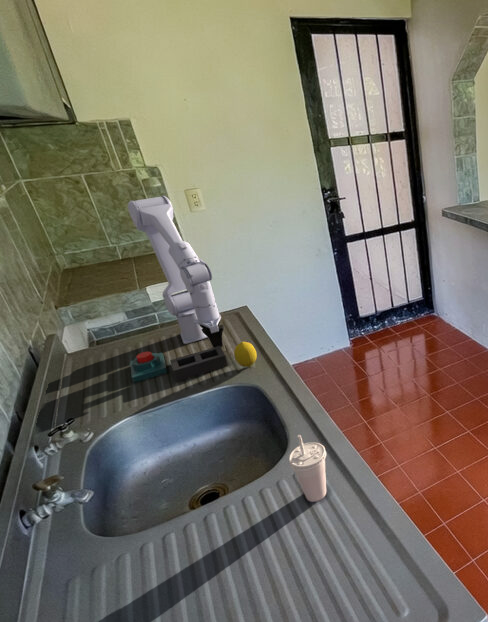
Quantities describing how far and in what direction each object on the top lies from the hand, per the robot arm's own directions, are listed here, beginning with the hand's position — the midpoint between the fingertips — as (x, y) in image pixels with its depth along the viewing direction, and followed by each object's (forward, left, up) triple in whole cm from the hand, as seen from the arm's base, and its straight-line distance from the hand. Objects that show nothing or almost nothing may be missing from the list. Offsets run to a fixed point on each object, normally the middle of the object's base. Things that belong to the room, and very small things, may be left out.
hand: (217, 345), depth 137 cm
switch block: (-1, -18, -2) cm, 18 cm away
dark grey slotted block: (+8, -6, -2) cm, 10 cm away
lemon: (+16, +5, -2) cm, 17 cm away
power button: (-1, -18, +1) cm, 18 cm away
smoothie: (+73, +4, -2) cm, 73 cm away
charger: (0, 0, -2) cm, 2 cm away
